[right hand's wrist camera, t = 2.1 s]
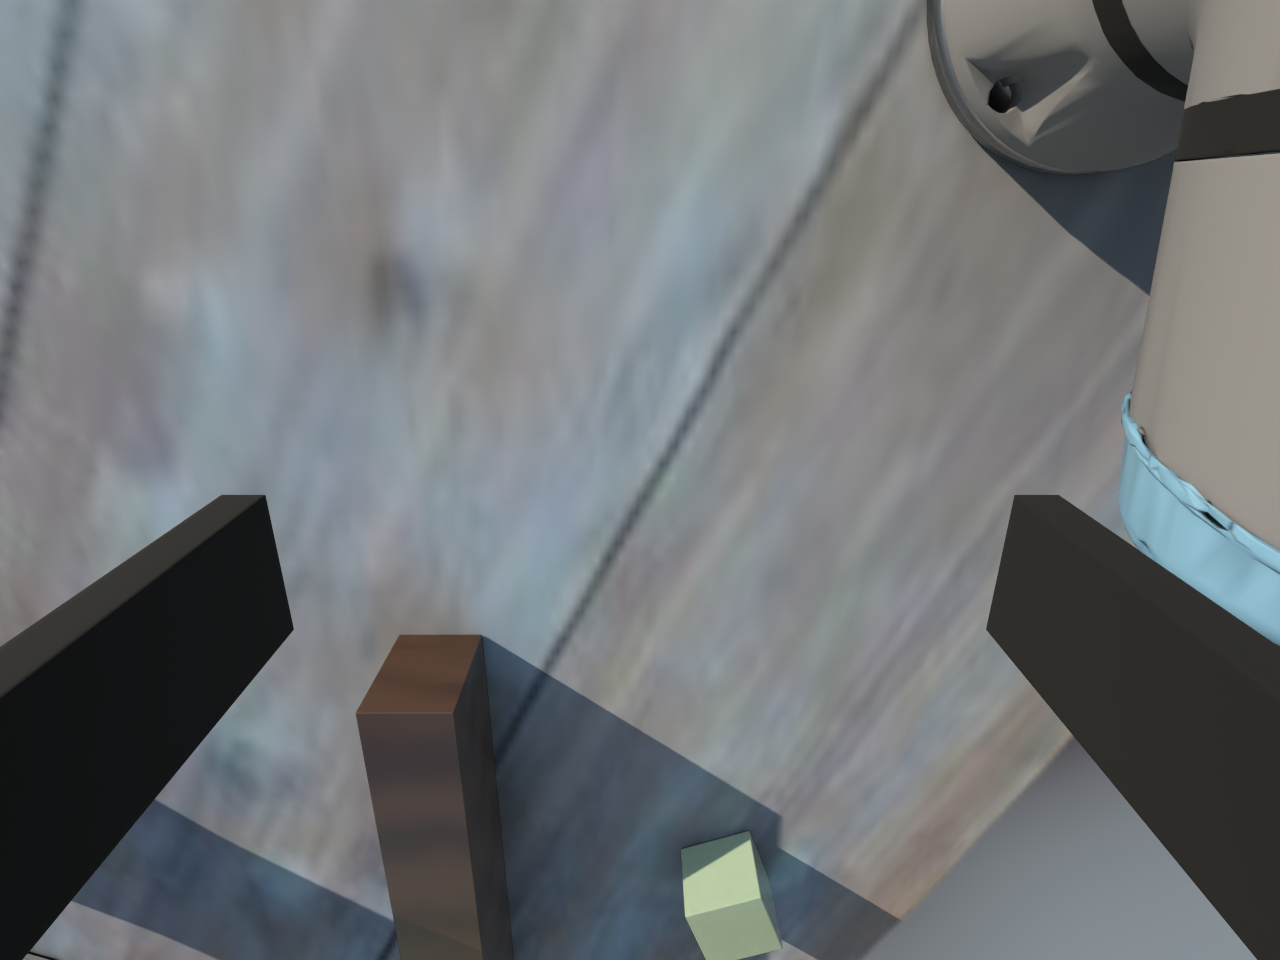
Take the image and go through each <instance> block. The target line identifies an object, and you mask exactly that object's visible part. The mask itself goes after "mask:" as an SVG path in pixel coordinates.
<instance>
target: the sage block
mask: <svg viewBox="0 0 1280 960" xmlns="http://www.w3.org/2000/svg"><path fill="white" fill-rule="evenodd" d="M681 862H682V877H683V892H684V907H685V917H686V919H687V921H688V923H689V925H690V928H691V930H692V932H693V934H694V936H695V938H696V940H697V942H698V944H699V946H700V948H701V950H702V952H703V954H704V956H705V958H706V960H739V959H743V958H747V957H751V956H755V955H759V954H763V953H767V952H771V951H775V950H779V949H782V941H781V936H780V931H779V926H778V921H777V916H776V911H775V906H774V900H773V895H772V890H771V885H770V880H769V877H768V875H767V873H766V870H765V868H764V865H763V863H762V860H761V858H760V856H759V853H758V851H757V848H756V846H755V843H754V841H753V839H752V836H751V834H750V832H749V831H746V832H743V833H739V834H735V835H732V836H728V837H724V838H720V839H717V840H713V841H709V842H706V843H702V844H698V845H694V846H691V847H687V848H683V849H681Z"/></svg>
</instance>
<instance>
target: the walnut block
mask: <svg viewBox="0 0 1280 960" xmlns="http://www.w3.org/2000/svg"><path fill="white" fill-rule="evenodd" d="M356 717H357V723H358V728H359V734H360V739H361V744H362V750H363V755H364V761H365V766H366V772H367V777H368V782H369V788H370V793H371V799H372V804H373V810H374V815H375V821H376V826H377V831H378V837H379V842H380V848H381V853H382V859H383V864H384V869H385V875H386V880H387V886H388V891H389V897H390V902H391V907H392V913H393V918H394V924H395V929H396V935H397V940H398V945H399V951H400V956H401V960H514V957H513V947H512V937H511V927H510V916H509V906H508V896H507V886H506V875H505V865H504V855H503V845H502V835H501V824H500V814H499V804H498V794H497V783H496V773H495V763H494V753H493V742H492V732H491V722H490V712H489V701H488V691H487V681H486V671H485V661H484V650H483V640H482V635H399V637H398V639H397V640H396V642H395V644H394V646H393V647H392V649H391V651H390V653H389V655H388V656H387V658H386V660H385V662H384V664H383V665H382V667H381V669H380V671H379V673H378V674H377V676H376V678H375V680H374V681H373V683H372V685H371V687H370V689H369V690H368V692H367V694H366V696H365V698H364V699H363V701H362V703H361V705H360V707H359V708H358V710H357V712H356Z"/></svg>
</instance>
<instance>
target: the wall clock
mask: <svg viewBox="0 0 1280 960" xmlns="http://www.w3.org/2000/svg"><path fill="white" fill-rule="evenodd" d="M23 960H49V959H45V958H41V957H38V956H34V955H31V954H27V955H26V956H25V957H24V959H23Z"/></svg>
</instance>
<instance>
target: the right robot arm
mask: <svg viewBox="0 0 1280 960" xmlns="http://www.w3.org/2000/svg"><path fill="white" fill-rule="evenodd" d="M927 27H928V39H929V45H930V51H931V57H932V61H933V65H934V68H935V72H936V75H937V78H938V81H939V83H940V86H941V88H942V91H943V93H944V95H945V97H946V99H947V101H948V103H949V105H950V107H951V109H952V110H953V112H954V113H955V115H956V116H957V118H958V119H959V121H960V122H961V123H962V125H963V126H964V127H965V128H966V129H967V130H968V132H969V133H970V134H971V135H972V136H973V137H974V138H975V139H976V140H977V141H978V142H980V143H981V144H982V145H983V146H984V147H986V148H987V149H988V150H990V151H991V152H992V153H994V154H995V155H997V156H999V157H1001V158H1002V159H1004V160H1006V161H1008V162H1010V163H1013V164H1015V165H1017V166H1020V167H1023V168H1026V169H1030V170H1033V171H1037V172H1043V173H1049V174H1062V175H1072V174H1089V173H1102V172H1110V171H1116V170H1122V169H1126V168H1130V167H1134V166H1138V165H1141V164H1143V163H1146V162H1149V161H1152V160H1155V159H1157V158H1159V157H1162V156H1164V155H1166V154H1168V153H1170V152H1172V151H1174V150H1176V149H1177V154H1176V158H1175V161H1180V162H1174V166H1173V172H1172V178H1171V183H1170V189H1169V194H1168V199H1167V205H1166V210H1165V216H1164V221H1163V227H1162V232H1161V238H1160V243H1159V248H1158V254H1157V259H1156V265H1155V270H1154V276H1153V281H1152V286H1151V292H1150V297H1149V303H1148V308H1147V314H1146V319H1145V325H1144V330H1143V335H1142V341H1141V346H1140V352H1139V357H1138V363H1137V368H1136V373H1135V379H1134V384H1133V390H1132V391H1131V392H1130V393H1129V394H1127V395H1126V396H1125V399H1124V402H1123V405H1122V410H1121V423H1122V425H1123V428H1124V431H1125V442H1124V450H1123V459H1122V467H1121V476H1120V484H1119V494H1118V501H1119V510H1120V515H1121V518H1122V521H1123V524H1124V527H1125V529H1126V531H1127V533H1128V535H1129V537H1130V539H1131V540H1132V541H1133V543H1134V544H1135V545H1136V547H1137V548H1138V549H1139V550H1140V551H1139V550H1138V549H1136V548H1135V547H1133V546H1132V545H1130V544H1129V543H1128V542H1126V541H1125V540H1123V539H1122V538H1120V537H1119V536H1117V535H1116V534H1114V533H1113V532H1112V531H1110V530H1109V529H1107V528H1106V527H1104V526H1103V525H1101V524H1100V523H1098V522H1097V521H1095V520H1094V519H1093V518H1091V517H1090V516H1088V515H1087V514H1085V513H1084V512H1082V511H1081V510H1079V509H1078V508H1077V507H1075V506H1074V505H1072V504H1071V503H1069V502H1068V501H1066V500H1065V499H1063V498H1062V497H1061V496H1059V495H1015V496H1014V501H1013V505H1012V510H1011V515H1010V520H1009V524H1008V529H1007V534H1006V538H1005V543H1004V548H1003V553H1002V557H1001V562H1000V567H999V571H998V576H997V581H996V586H995V590H994V595H993V600H992V605H991V609H990V614H989V619H988V623H987V628H986V630H987V631H988V632H989V633H990V635H991V636H992V637H993V638H994V639H995V641H996V642H997V643H998V644H999V646H1000V647H1001V648H1002V649H1003V650H1004V652H1005V653H1006V654H1007V655H1008V657H1009V658H1010V659H1011V660H1012V661H1013V663H1014V664H1015V665H1016V666H1017V667H1018V669H1019V670H1020V671H1021V672H1022V674H1023V675H1024V676H1025V677H1026V678H1027V680H1028V681H1029V682H1030V683H1031V685H1032V686H1033V687H1034V688H1035V689H1036V691H1037V692H1038V693H1039V694H1040V695H1041V697H1042V698H1043V699H1044V700H1045V702H1046V703H1047V704H1048V705H1049V706H1050V708H1051V709H1052V710H1053V711H1054V713H1055V714H1056V715H1057V716H1058V717H1059V719H1060V720H1061V721H1062V722H1063V723H1064V725H1065V726H1066V727H1067V728H1068V730H1069V731H1070V732H1071V733H1072V734H1073V736H1074V737H1075V738H1076V739H1077V741H1078V742H1079V743H1080V744H1081V745H1082V747H1083V748H1084V749H1085V750H1086V752H1087V753H1088V754H1089V755H1090V756H1091V758H1092V759H1093V760H1094V761H1095V762H1096V764H1097V765H1098V766H1099V767H1100V769H1101V770H1102V771H1103V772H1104V773H1105V775H1106V776H1107V777H1108V778H1109V779H1110V781H1111V782H1112V783H1113V784H1114V786H1115V787H1116V788H1117V789H1118V790H1119V792H1120V793H1121V794H1122V795H1123V797H1124V798H1125V799H1126V800H1127V801H1128V803H1129V804H1130V805H1131V806H1132V808H1133V809H1134V810H1135V811H1136V812H1137V814H1138V815H1139V816H1140V817H1141V818H1142V820H1143V821H1144V822H1145V823H1146V825H1147V826H1148V827H1149V828H1150V829H1151V831H1152V832H1153V833H1154V834H1155V836H1156V837H1157V838H1158V839H1159V840H1160V842H1161V843H1162V844H1163V845H1164V846H1165V848H1166V849H1167V850H1168V851H1169V853H1170V854H1171V855H1172V856H1173V857H1174V859H1175V860H1176V861H1177V862H1178V864H1179V865H1180V866H1181V867H1182V868H1183V870H1184V871H1185V872H1186V873H1187V874H1188V876H1189V877H1190V878H1191V879H1192V881H1193V882H1194V883H1195V884H1196V885H1197V887H1198V888H1199V889H1200V890H1201V891H1202V893H1203V894H1204V895H1205V896H1206V898H1207V899H1208V900H1209V901H1210V902H1211V904H1212V905H1213V906H1214V907H1215V909H1216V910H1217V911H1218V912H1219V913H1220V915H1221V916H1222V917H1223V918H1224V920H1225V921H1226V922H1227V923H1228V924H1229V926H1230V927H1231V928H1232V929H1233V931H1234V932H1235V933H1236V934H1237V935H1238V937H1239V938H1240V939H1241V940H1242V941H1243V943H1244V944H1245V945H1246V946H1247V948H1248V949H1249V950H1250V951H1251V952H1252V954H1253V955H1254V956H1255V957H1256V959H1257V960H1280V153H1273V154H1262V155H1250V156H1239V157H1227V158H1216V157H1224V156H1233V155H1246V154H1256V153H1266V152H1279V151H1280V0H927ZM1207 158H1216V159H1207ZM1199 159H1204V160H1199ZM1190 160H1193V161H1190ZM293 630H294V628H293V623H292V619H291V614H290V609H289V605H288V600H287V595H286V590H285V586H284V581H283V576H282V571H281V567H280V562H279V557H278V553H277V548H276V543H275V538H274V534H273V529H272V524H271V520H270V515H269V510H268V505H267V501H266V496H265V495H221V496H219V497H218V498H217V499H215V500H214V501H212V502H211V503H209V504H208V505H206V506H205V507H203V508H202V509H201V510H199V511H198V512H196V513H195V514H193V515H192V516H190V517H189V518H187V519H186V520H185V521H183V522H182V523H180V524H179V525H177V526H176V527H174V528H173V529H171V530H170V531H168V532H167V533H166V534H164V535H163V536H161V537H160V538H158V539H157V540H155V541H154V542H152V543H151V544H150V545H148V546H147V547H145V548H144V549H142V550H141V551H139V552H138V553H136V554H135V555H134V556H132V557H131V558H129V559H128V560H126V561H125V562H123V563H122V564H120V565H119V566H118V567H116V568H115V569H113V570H112V571H110V572H109V573H107V574H106V575H104V576H103V577H101V578H100V579H99V580H97V581H96V582H94V583H93V584H91V585H90V586H88V587H87V588H85V589H84V590H83V591H81V592H80V593H78V594H77V595H75V596H74V597H72V598H71V599H69V600H68V601H67V602H65V603H64V604H62V605H61V606H59V607H58V608H56V609H55V610H53V611H52V612H51V613H49V614H48V615H46V616H45V617H43V618H42V619H40V620H39V621H37V622H36V623H35V624H33V625H32V626H30V627H29V628H27V629H26V630H24V631H23V632H21V633H20V634H18V635H17V636H16V637H14V638H13V639H11V640H10V641H8V642H7V643H5V644H4V645H2V646H1V647H0V960H23V959H24V957H25V956H26V955H27V954H28V952H29V951H30V950H31V949H32V948H33V946H34V945H35V944H36V943H37V941H38V940H39V939H40V938H41V937H42V935H43V934H44V933H45V932H46V931H47V929H48V928H49V927H50V926H51V924H52V923H53V922H54V921H55V920H56V918H57V917H58V916H59V915H60V913H61V912H62V911H63V910H64V909H65V907H66V906H67V905H68V904H69V903H70V901H71V900H72V899H73V898H74V896H75V895H76V894H77V893H78V892H79V890H80V889H81V888H82V887H83V885H84V884H85V883H86V882H87V881H88V879H89V878H90V877H91V876H92V875H93V873H94V872H95V871H96V870H97V868H98V867H99V866H100V865H101V864H102V862H103V861H104V860H105V859H106V857H107V856H108V855H109V854H110V853H111V851H112V850H113V849H114V848H115V846H116V845H117V844H118V843H119V842H120V840H121V839H122V838H123V837H124V836H125V834H126V833H127V832H128V831H129V829H130V828H131V827H132V826H133V825H134V823H135V822H136V821H137V820H138V818H139V817H140V816H141V815H142V814H143V812H144V811H145V810H146V809H147V808H148V806H149V805H150V804H151V803H152V801H153V800H154V799H155V798H156V797H157V795H158V794H159V793H160V792H161V790H162V789H163V788H164V787H165V786H166V784H167V783H168V782H169V781H170V780H171V778H172V777H173V776H174V775H175V773H176V772H177V771H178V770H179V769H180V767H181V766H182V765H183V764H184V762H185V761H186V760H187V759H188V758H189V756H190V755H191V754H192V753H193V752H194V750H195V749H196V748H197V747H198V745H199V744H200V743H201V742H202V741H203V739H204V738H205V737H206V736H207V734H208V733H209V732H210V731H211V730H212V728H213V727H214V726H215V725H216V723H217V722H218V721H219V720H220V719H221V717H222V716H223V715H224V714H225V713H226V711H227V710H228V709H229V708H230V706H231V705H232V704H233V703H234V702H235V700H236V699H237V698H238V697H239V695H240V694H241V693H242V692H243V691H244V689H245V688H246V687H247V686H248V685H249V683H250V682H251V681H252V680H253V678H254V677H255V676H256V675H257V674H258V672H259V671H260V670H261V669H262V667H263V666H264V665H265V664H266V663H267V661H268V660H269V659H270V658H271V657H272V655H273V654H274V653H275V652H276V650H277V649H278V648H279V647H280V646H281V644H282V643H283V642H284V641H285V639H286V638H287V637H288V636H289V635H290V633H291V632H292V631H293Z"/></svg>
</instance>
